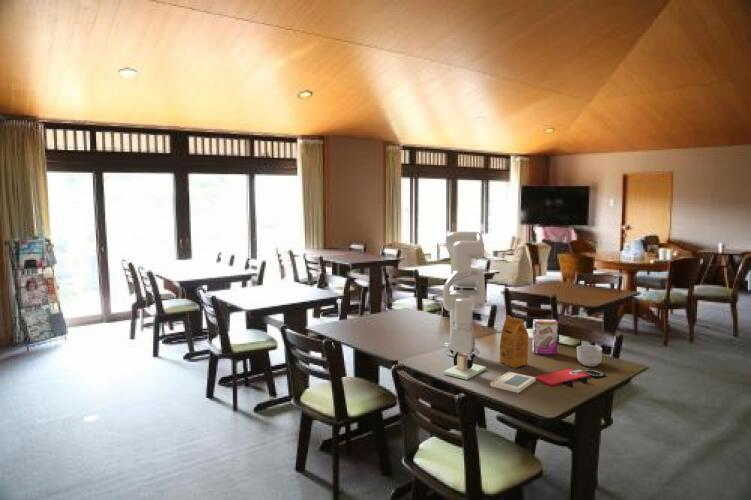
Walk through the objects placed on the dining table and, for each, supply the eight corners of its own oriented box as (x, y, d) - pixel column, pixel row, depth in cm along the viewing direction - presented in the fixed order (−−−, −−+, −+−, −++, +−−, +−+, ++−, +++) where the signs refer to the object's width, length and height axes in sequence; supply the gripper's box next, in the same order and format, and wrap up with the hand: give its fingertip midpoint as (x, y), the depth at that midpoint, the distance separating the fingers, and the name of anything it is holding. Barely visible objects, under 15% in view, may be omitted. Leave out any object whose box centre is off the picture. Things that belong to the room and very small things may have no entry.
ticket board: (490, 386, 211) (490, 382, 211) (508, 375, 224) (508, 371, 224) (518, 392, 203) (518, 388, 203) (535, 381, 217) (535, 377, 216)
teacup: (590, 369, 231) (590, 352, 230) (570, 363, 240) (571, 346, 239) (611, 365, 237) (612, 347, 236) (591, 358, 246) (592, 342, 246)
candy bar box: (533, 354, 253) (534, 321, 252) (531, 351, 258) (532, 319, 257) (557, 355, 252) (558, 321, 251) (555, 352, 257) (555, 319, 256)
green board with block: (443, 373, 225) (443, 357, 224) (463, 364, 238) (463, 348, 237) (466, 379, 218) (467, 362, 217) (485, 369, 231) (486, 353, 230)
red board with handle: (610, 377, 220) (581, 368, 234) (610, 371, 220) (581, 362, 233) (558, 390, 207) (531, 380, 220) (558, 384, 207) (531, 373, 220)
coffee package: (513, 358, 247) (514, 313, 245) (530, 366, 235) (531, 318, 233) (495, 361, 243) (496, 315, 241) (512, 369, 232) (513, 320, 229)
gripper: (441, 324, 229) (441, 364, 231) (477, 331, 218) (476, 372, 220) (450, 321, 235) (450, 360, 237) (485, 327, 224) (484, 368, 226)
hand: (463, 366), depth 228 cm, fingers open, 6 cm apart
